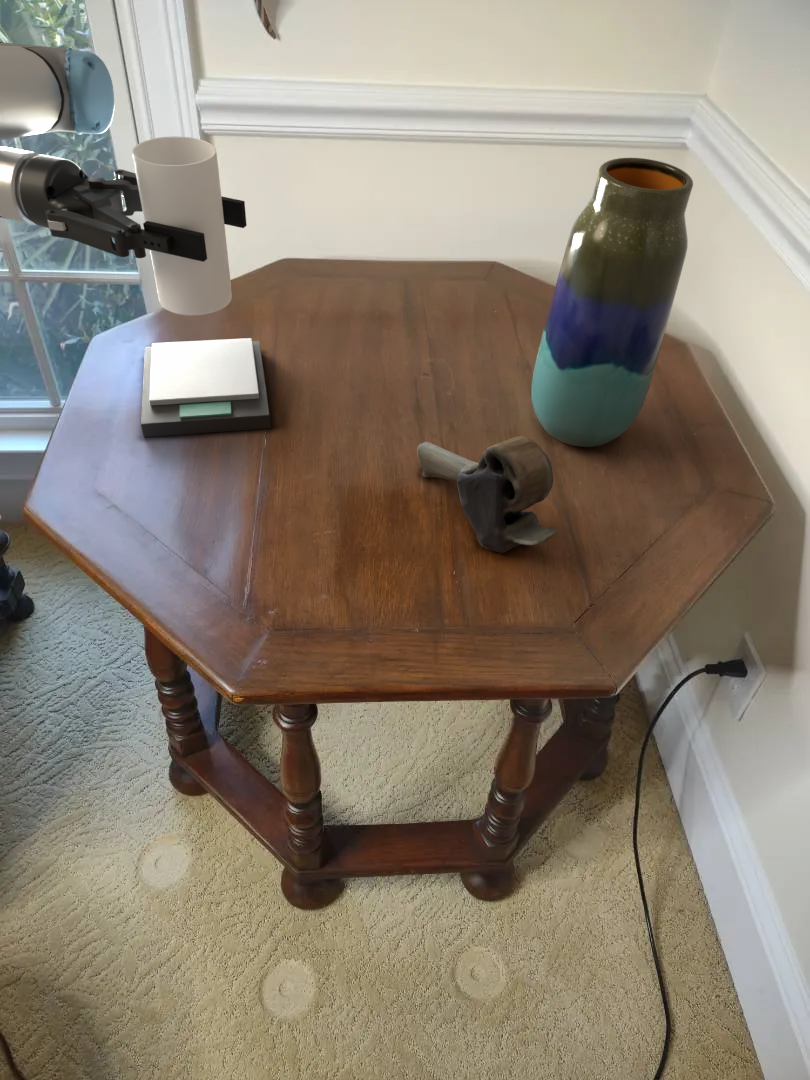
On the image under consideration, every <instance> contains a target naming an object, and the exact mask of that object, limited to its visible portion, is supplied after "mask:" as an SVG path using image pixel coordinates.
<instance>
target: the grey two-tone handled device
mask: <svg viewBox="0 0 810 1080" xmlns="http://www.w3.org/2000/svg"><path fill="white" fill-rule="evenodd" d="M416 455H417V458H418V461H419V464H420V468H421V470H422V477H424V478H438V479H442V480H446V481H451V482H454V483H456V485H457V489H458V495H459V496H458V497H459V500H460V506H461V508H462V510H463V513H464V514H465V516H466V518H467V520H468V521H469V524H470V525H471V527H472V528H473V531H474V533H475V535H476V539H477V543H479V545H480V546H481V547H482V548H485V549H486V550H488V551H492V552H497V553H500V554H504V553H506V552H508V551H510V550H512V549H515V548H516V547H518V546H520V545H523V546H528V547H529V546H530V547H531V546H538V545H540V544H542V543H545V542H546V541H547V540H549V539H551V538H553V537H554V536H556V535H557V533H558V530H557V528H555V527H551V526H550V527H549V526H548V527H547V526H544V525H540V524H539V519H538V516H537V514H536V513H535V512H534V511H532V510H531V511H527V509H529V508H531V507H533V506H534V505H536V504H537V503H541V502H543V501H545V499H546V498H547V497H548V496H549V494H550V492H551V491H552V488H553V485H554V475H553V474H554V473H553V467H552V463H551V460H550V459H549V457H548V454H546V453H545V451H544V450H543V449H542V448H541V447H540V445H539V444H538V443H536V442H535V440H533V439H531V438H529V437H525V436H522V435H521V436H520V435H519V436H514V437H511V438H509V439H506V440H504V441H500V442H497V443H495V444H493V445H491V446H489V447H487V448H486V449H484V451H483V453H482V454H481V455H480V457H479V461H478V462H476V461H472V460H470V459H468V458H466V457H464V456H461V455H458V454H456V453H455V452H452V451H449V450H447V449H446V448H443V447H440V446H438V445H436V444H434V443H432V442H429V441H424V442H422V443H420V444H418V447H417V449H416ZM525 510H526V511H525Z"/></svg>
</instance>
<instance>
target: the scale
mask: <svg viewBox="0 0 810 1080" xmlns="http://www.w3.org/2000/svg"><path fill="white" fill-rule="evenodd" d="M266 385H267V384H266V378H265V371H264V362H263V356H262V348H261V342H260V340H253V338H252V337H247V338H229V339H228V338H227V339H208V340H189V341H186V340H185V341H170V342H169V341H168V342H152V343H151V346H145V347H144V359H143V378H142V394H141V414H140V416H141V417H140V428H141V431H142V436H143V438H152V437H153V438H154V437H155V438H156V437H168V436H169V437H170V436H181V435H196V434H208V433H222V432H223V433H224V432H235V431H238V432H239V431H252V430H264V429H265V430H266V429H271V427H272V426H271V414H270V407H269V399H268V393H267V386H266Z"/></svg>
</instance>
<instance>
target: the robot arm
mask: <svg viewBox="0 0 810 1080" xmlns="http://www.w3.org/2000/svg"><path fill="white" fill-rule="evenodd" d="M114 115H115V92H114V86H113V80H112V77H111V74H110V72H109V69H108V67H107V65H106V63H105V62H104V61H103V60H102V59H101V58H100V56H99V55H97V54H95V53H93V52H90V51H84V50H79V49H74V48H72V47H65V48H62V47H55V46H54V47H53V46H44V45H37V44H35V45H34V44H24V43H15V42H14V43H12V42H4V41H0V141H4V140H10V139H16V138H23V137H27V136H33V135H40V134H41V135H43V134H49V133H55V132H67V133H75V134H76V135H79V136H80V135H83V134H89V135H100V134H103V133H105V132H107V131H108V129H109V128H110V127H111V125H112V122H113V119H114ZM113 174H114V178H112V179H106V178H104V177H97V176H96V177H95V176H94V177H93V176H92V177H89V176H88V175H87V174H86V173H85V172H84V171H83V170H82V168H81V167H80V166H79V165H78V164H77V163H75V162H74V161H72V160H70V159H66V158H62V157H57V156H51V155H46V154H41V153H39V152H35V151H30V150H24V149H20V148H14V147H8V146H3V145H0V218H1V219H6V220H11V221H15V222H19V223H24V224H25V225H26V226H38V227H40V228H43V229H48V230H49V232H50V235H51V236H52V237H55V238H62V239H69V240H73V241H75V242H78V243H80V244H84V245H86V246H89V247H92V248H94V249H97V250H99V251H103V252H106V253H108V254H111V255H114V256H117V257H119V258H127V257H129V256H130V254H131V253H130V251H133V252H134V257H135V258H136V259H143V258H146V257H147V253H146V250H149V251H150V250H153V251H158V252H162V253H167V254H171V255H175V256H180V257H184V258H189V259H193V260H198V261H202V262H204V261H205V260H206V259H207V253H206V245H205V237H204V233H201V232H196V231H192V230H187V229H182V228H178V227H173V226H169V225H164V224H159V223H155V222H150V221H146V222H145V221H144V222H143V223H142V225H143V228H142V226H141V224H140V223H138V222H137V221H135V220H133V219H131V218H130V216H134V214H135V213H137V212H138V213H139V212H142V213H143V210H142V205H141V199H140V194H139V188H138V183H137V177H136V172H132V171H129V170H125V169H121V168H117V169H115V170H114V171H113ZM221 198H222V207H223V216H224V225H227V226H232V227H236V228H240V229H245V228H246V227H247V214H246V202H245V200H242V199H237V198H233V197H232V198H231V197H227V196H222V195H221ZM123 199H124V201H123ZM124 205H125V206H124ZM113 240H114V241H113Z"/></svg>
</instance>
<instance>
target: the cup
mask: <svg viewBox="0 0 810 1080" xmlns="http://www.w3.org/2000/svg"><path fill="white" fill-rule="evenodd" d="M216 149H217V148H216V147H215V145H213V143H210V142H208V141H206V140H203V139H200V138H195V137H190V136H161V137H154V138H150V139H146V140H143V141H141V142H139V143H137V144H136V145H135V146H133V148H132V151H131V152H132V160H133V164H134V165H133V166H134V171H135V172H134V173H136V177H137V183H138V188H139V194H140V199H141V205H142V210H143V212H142V216H143V222H144V223H145V222H146V221H150V222H155V223H159V224H164V225H169V226H173V227H178V228H182V229H187V230H192V231H196V232H201V233H204V237H205V245H206V253H207V259H206V260H205V261H204V262H202V261H198V260H193V259H189V258H184V257H180V256H175V255H171V254H167V253H162V252H158V251H153V250H149V255H150V259H151V264H152V270H153V275H154V282H155V286H156V293H157V298H158V303H159V304H160V306H161V307H162V308H163V309H165V310H166V311H168V312H170V313H172V314H177V315H182V316H190V317H191V316H192V317H193V316H205V315H210V314H213V313H216V312H219V311H222V310H224V309H225V308H226V307H227V306H228V305H229V304H230V303H232V299H233V292H232V281H231V272H230V265H229V254H228V253H229V252H228V246H227V236H226V235H227V234H226V227H225V224H224V216H223V207H222V198H221V196H222V190H221V189H222V188H221V179H220V170H219V164H218V163H219V162H218V153H217V150H216Z"/></svg>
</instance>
